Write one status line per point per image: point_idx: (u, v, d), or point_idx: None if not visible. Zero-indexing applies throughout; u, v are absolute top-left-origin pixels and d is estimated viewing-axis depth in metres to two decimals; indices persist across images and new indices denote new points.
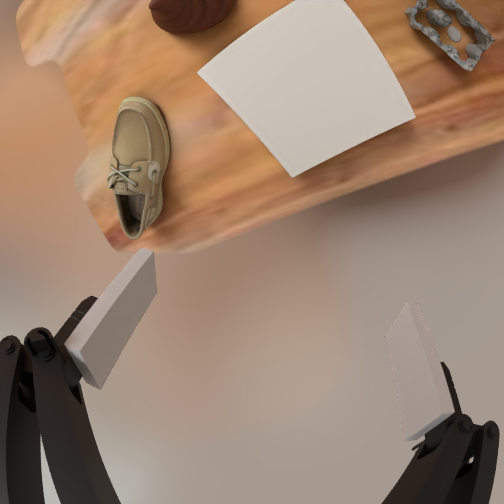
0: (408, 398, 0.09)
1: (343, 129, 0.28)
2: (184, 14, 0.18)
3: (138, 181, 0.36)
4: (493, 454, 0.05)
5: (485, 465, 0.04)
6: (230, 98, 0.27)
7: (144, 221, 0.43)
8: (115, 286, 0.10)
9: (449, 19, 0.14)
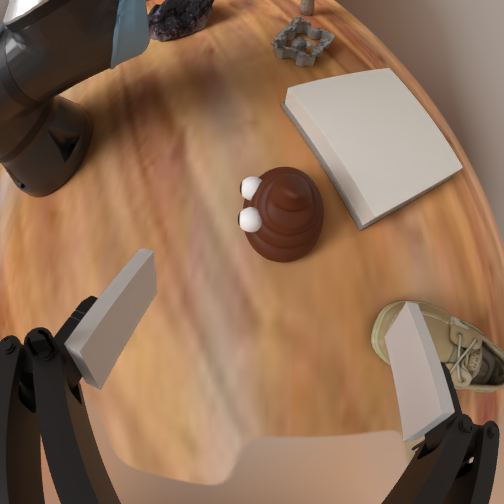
0: (408, 398, 0.09)
1: (416, 114, 0.28)
2: (312, 187, 0.23)
3: (471, 337, 0.21)
4: (493, 454, 0.05)
5: (485, 465, 0.04)
6: (404, 193, 0.26)
7: (501, 353, 0.21)
8: (115, 286, 0.10)
9: (298, 37, 0.32)
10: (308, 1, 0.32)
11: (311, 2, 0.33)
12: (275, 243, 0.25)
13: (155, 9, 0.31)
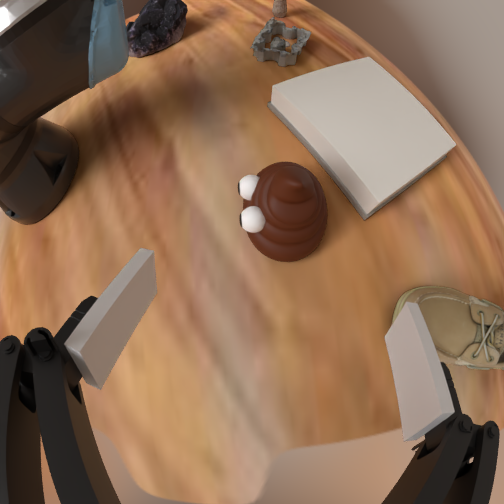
0: (408, 398, 0.09)
1: (402, 98, 0.28)
2: (312, 177, 0.22)
3: (493, 314, 0.19)
4: (493, 454, 0.05)
5: (485, 465, 0.04)
6: (403, 176, 0.25)
7: None
8: (115, 286, 0.10)
9: (276, 38, 0.32)
10: (281, 3, 0.34)
11: (284, 3, 0.34)
12: (282, 240, 0.24)
13: (130, 26, 0.32)
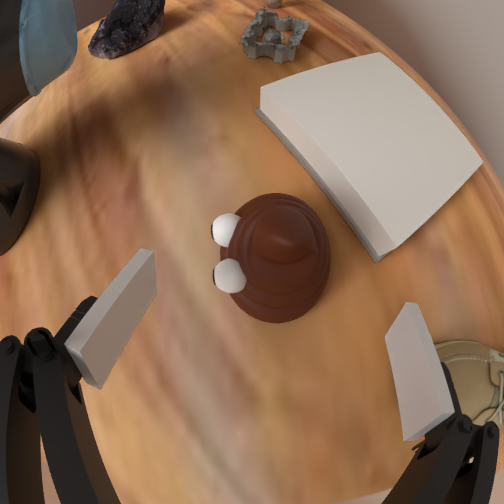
0: (408, 398, 0.09)
1: (422, 103, 0.22)
2: (312, 220, 0.16)
3: None
4: (493, 454, 0.05)
5: (485, 465, 0.04)
6: (427, 207, 0.19)
7: None
8: (115, 286, 0.10)
9: (269, 30, 0.26)
10: None
11: None
12: (269, 304, 0.18)
13: None
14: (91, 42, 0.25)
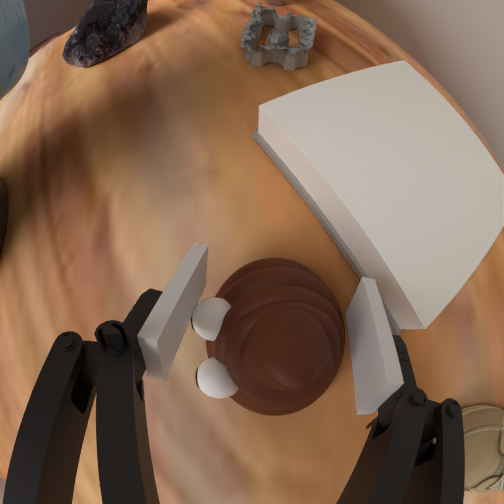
0: (360, 370, 0.11)
1: (455, 127, 0.17)
2: (328, 322, 0.11)
3: None
4: (458, 433, 0.06)
5: (450, 448, 0.05)
6: (462, 271, 0.14)
7: None
8: (179, 278, 0.11)
9: (273, 30, 0.21)
10: None
11: None
12: (267, 409, 0.13)
13: None
14: (65, 49, 0.21)
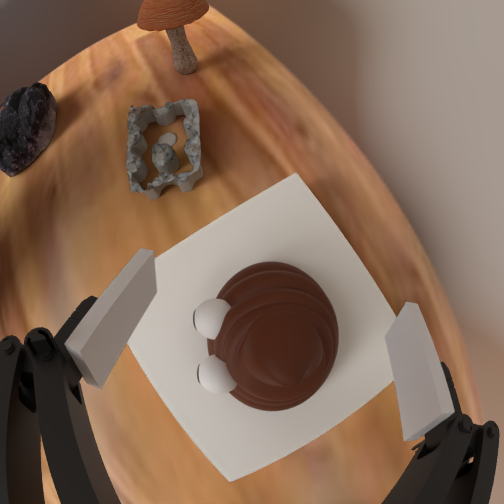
0: (408, 398, 0.09)
1: (337, 283, 0.19)
2: (321, 323, 0.12)
3: None
4: (493, 454, 0.05)
5: (485, 465, 0.04)
6: (280, 450, 0.16)
7: None
8: (115, 286, 0.10)
9: (155, 147, 0.23)
10: (180, 54, 0.25)
11: (185, 53, 0.25)
12: (264, 404, 0.14)
13: None
14: None
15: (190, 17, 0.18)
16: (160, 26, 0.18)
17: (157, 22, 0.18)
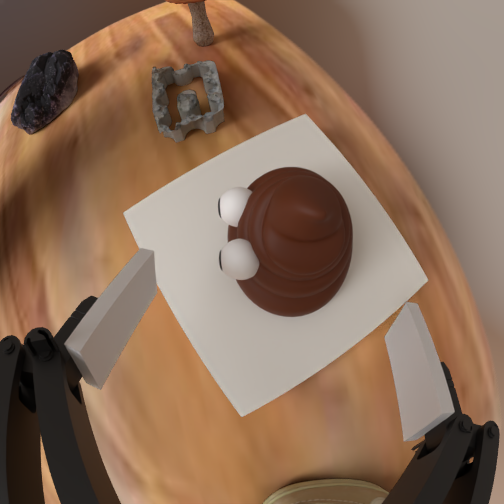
0: (408, 398, 0.09)
1: (346, 201, 0.20)
2: (338, 194, 0.13)
3: None
4: (493, 454, 0.05)
5: (485, 465, 0.04)
6: (297, 373, 0.18)
7: None
8: (115, 286, 0.10)
9: (180, 96, 0.25)
10: (200, 27, 0.26)
11: (205, 26, 0.26)
12: (285, 294, 0.15)
13: None
14: (12, 119, 0.24)
15: None
16: (186, 0, 0.19)
17: None
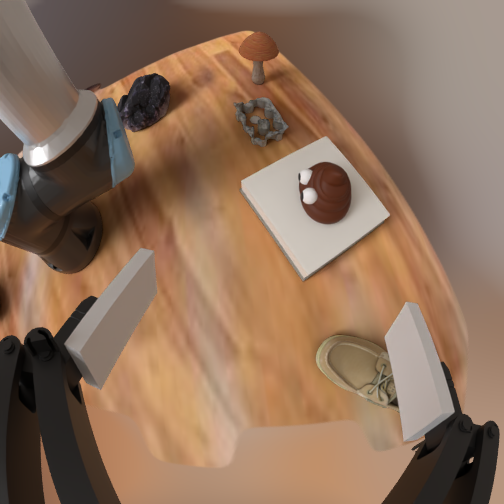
0: (408, 398, 0.09)
1: None
2: None
3: None
4: (493, 454, 0.05)
5: (485, 465, 0.04)
6: (331, 252, 0.40)
7: None
8: (115, 286, 0.10)
9: (259, 121, 0.47)
10: (258, 73, 0.49)
11: (261, 73, 0.49)
12: (327, 209, 0.37)
13: (123, 101, 0.47)
14: None
15: (272, 56, 0.42)
16: (257, 59, 0.42)
17: (255, 56, 0.42)
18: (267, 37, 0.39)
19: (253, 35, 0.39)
